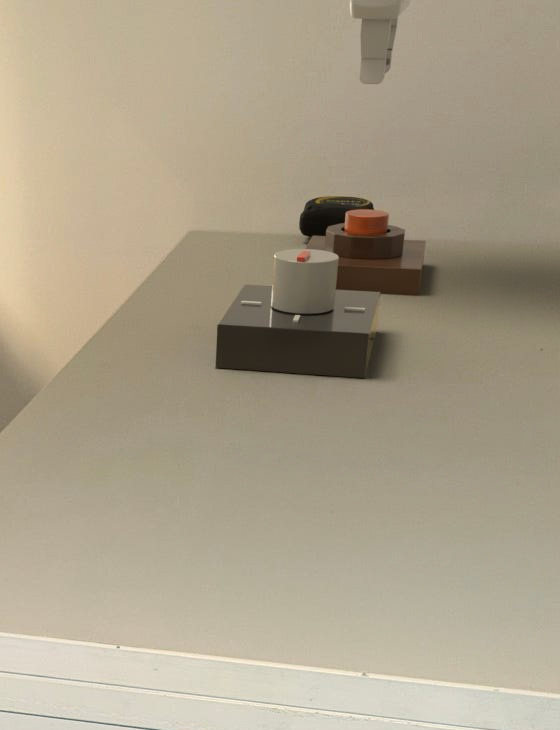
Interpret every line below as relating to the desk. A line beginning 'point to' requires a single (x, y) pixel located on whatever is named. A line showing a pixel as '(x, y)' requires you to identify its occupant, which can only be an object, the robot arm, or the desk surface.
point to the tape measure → (328, 213)
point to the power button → (366, 222)
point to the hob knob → (304, 281)
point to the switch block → (374, 260)
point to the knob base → (298, 335)
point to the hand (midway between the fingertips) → (375, 78)
